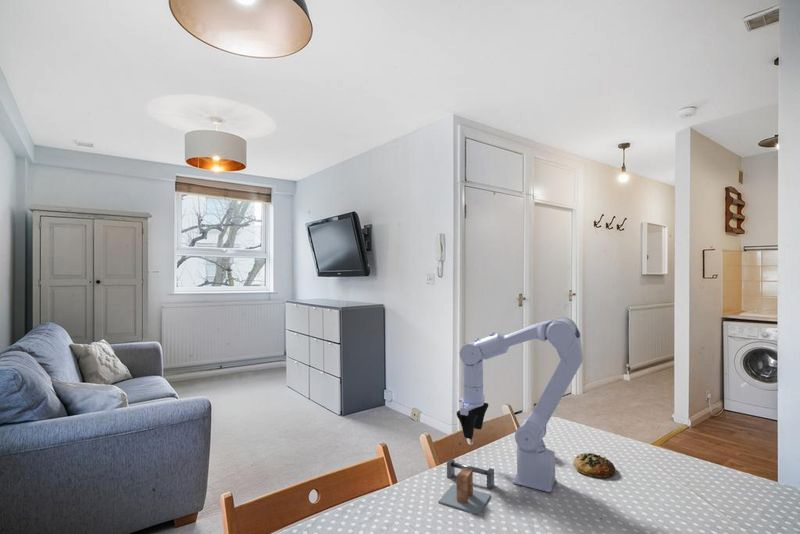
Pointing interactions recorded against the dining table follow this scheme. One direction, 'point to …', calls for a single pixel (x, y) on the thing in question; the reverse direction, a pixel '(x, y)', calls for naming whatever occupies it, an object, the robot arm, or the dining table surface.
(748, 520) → the dining table surface
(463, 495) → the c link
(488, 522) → the dining table surface
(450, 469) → the bar stand
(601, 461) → the bread roll
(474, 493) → the mat
